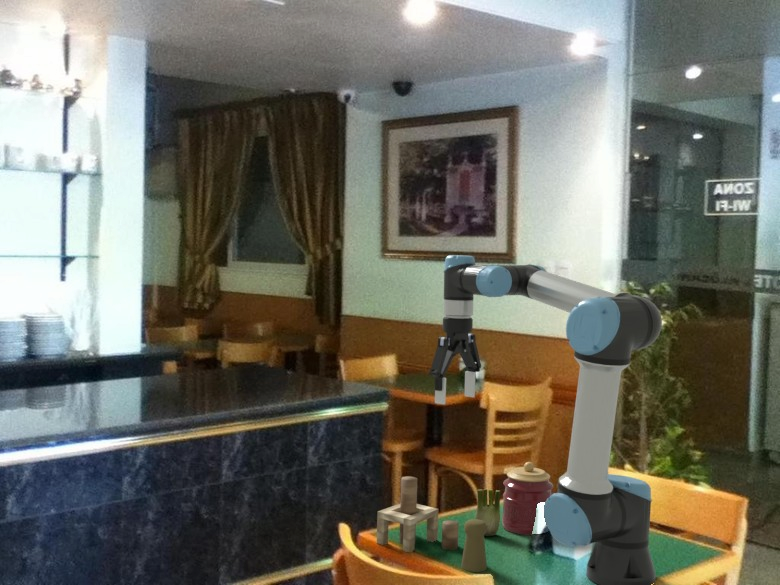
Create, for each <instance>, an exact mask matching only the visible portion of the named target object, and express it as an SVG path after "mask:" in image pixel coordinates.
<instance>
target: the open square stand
mask: <svg viewBox="0 0 780 585" xmlns="http://www.w3.org/2000/svg"><path fill="white" fill-rule="evenodd" d="M400 504H401V502H400V503H398V504H394V505H393V506H390V507H386V508H383V509H381V510H378V511H377V514H376V515H377V517H376V520H377V521H376V544H378V545H382V546H384V545H387V544H389V522H393V523H396V524H399V525H400V524H404V526H403V544H402V551H403V552H406V553H411V551H412V552H414V551H415V545H416V535H415V524H416V525H417V524H419V523H421V522H424V521H426V537H425V538H426V539H425V540H427V542H430V541H431V542H430V543H434V541H435V542H437V541H438V536H439V534H438V533H439V508H436V507H432V506H427V505H423V504H419V503H417V507H416V514H413V515H407V514H403V513H400ZM436 540H437V541H436ZM386 543H387V544H386ZM413 550H414V551H413Z"/></svg>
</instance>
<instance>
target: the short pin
mask: <svg viewBox="0 0 780 585" xmlns="http://www.w3.org/2000/svg"><path fill="white" fill-rule="evenodd" d="M441 525H442V528H441V533H442V534H441V548H442V549H444V550H448V549H450V550H457V549H459V528H460V526H459V525H460V524H459V521H456V520H444V521H442V524H441ZM450 550H449V551H450Z"/></svg>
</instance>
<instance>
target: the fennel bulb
mask: <svg viewBox="0 0 780 585" xmlns="http://www.w3.org/2000/svg"><path fill="white" fill-rule="evenodd" d="M476 491H477V508H476V512H475V516H474V519H479V520H482V521H484V522H485V523H486V527H487V531H486V533H485V535H484V537H485V536H486V537H492V536H495V535H496V534H497V533H498V530H499V527H500V522H501V506H500V505H501V503H500V501H501V490H497V489H496V490H495V495H494V489H487V488H484V489H477V490H476Z"/></svg>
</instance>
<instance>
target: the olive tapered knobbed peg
mask: <svg viewBox="0 0 780 585" xmlns="http://www.w3.org/2000/svg"><path fill="white" fill-rule="evenodd" d="M463 530H464V533H465V538H464V539H465V541H464V546H463V552H462V557H461V565H460V567H461V569H462V570H465V571H467V572H472V573H473V572H474V573H477V572H478V573H480V572H484V571H486V570H487V569H488V565H487V554H486V552H487V551H486V545H485V544H486V543H485V536H484V535H485V533H486V531H487V527H486V523H485V522H484V521H482V520H479V519H475V518H471V519H468V520H466V521H465V523H464V526H463Z"/></svg>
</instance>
